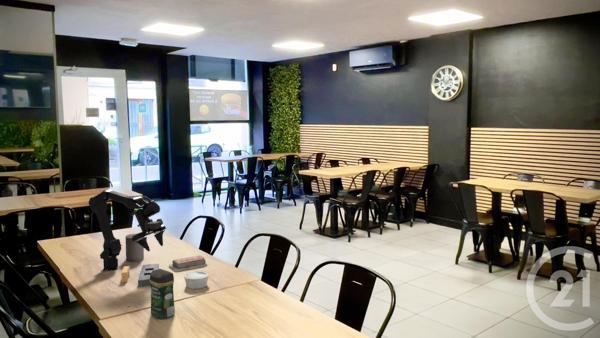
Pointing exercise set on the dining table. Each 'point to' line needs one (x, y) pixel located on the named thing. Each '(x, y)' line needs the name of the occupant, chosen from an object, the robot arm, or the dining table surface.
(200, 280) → the ramekin
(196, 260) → the packaged product
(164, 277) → the coffee jar
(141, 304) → the dining table surface
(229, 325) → the dining table surface
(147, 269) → the grey slotted plate
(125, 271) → the long orange beam
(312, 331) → the dining table surface
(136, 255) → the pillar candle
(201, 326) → the dining table surface
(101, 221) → the robot arm
